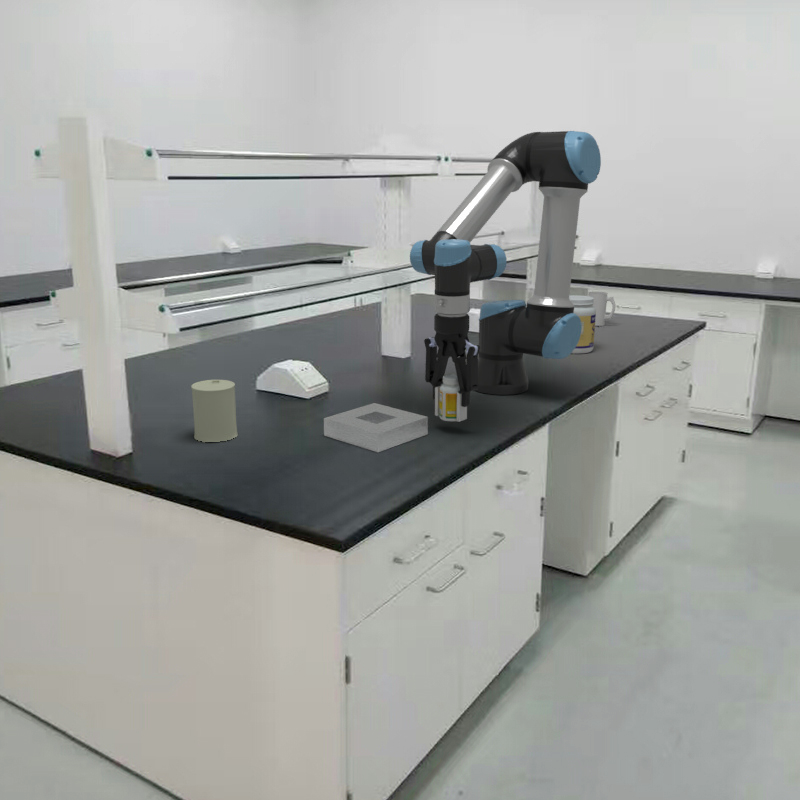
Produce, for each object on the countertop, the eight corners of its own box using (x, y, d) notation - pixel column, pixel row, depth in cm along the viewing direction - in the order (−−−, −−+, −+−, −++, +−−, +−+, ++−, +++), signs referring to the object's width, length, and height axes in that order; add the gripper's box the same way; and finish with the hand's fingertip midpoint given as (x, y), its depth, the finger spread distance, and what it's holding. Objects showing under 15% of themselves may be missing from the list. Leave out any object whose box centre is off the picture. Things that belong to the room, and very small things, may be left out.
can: (240, 429, 185) (238, 377, 182) (234, 443, 176) (231, 388, 173) (198, 429, 185) (195, 377, 182) (190, 443, 176) (186, 388, 173)
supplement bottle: (434, 418, 185) (434, 376, 182) (450, 412, 188) (450, 371, 186) (453, 423, 181) (453, 381, 178) (468, 417, 185) (469, 376, 182)
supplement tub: (596, 354, 259) (600, 300, 255) (557, 354, 260) (560, 300, 255) (589, 346, 271) (592, 294, 266) (551, 345, 271) (554, 294, 267)
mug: (584, 326, 305) (586, 293, 301) (588, 323, 310) (591, 290, 307) (611, 328, 300) (614, 295, 297) (615, 325, 306) (618, 292, 303)
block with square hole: (374, 419, 193) (374, 402, 192) (427, 434, 183) (427, 416, 182) (324, 435, 181) (323, 418, 180) (377, 452, 171) (377, 433, 170)
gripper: (407, 311, 181) (408, 412, 188) (476, 321, 169) (474, 430, 176) (429, 306, 186) (429, 405, 193) (497, 316, 175) (494, 421, 181)
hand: (450, 416), depth 185 cm, fingers closed on supplement bottle, 5 cm apart
